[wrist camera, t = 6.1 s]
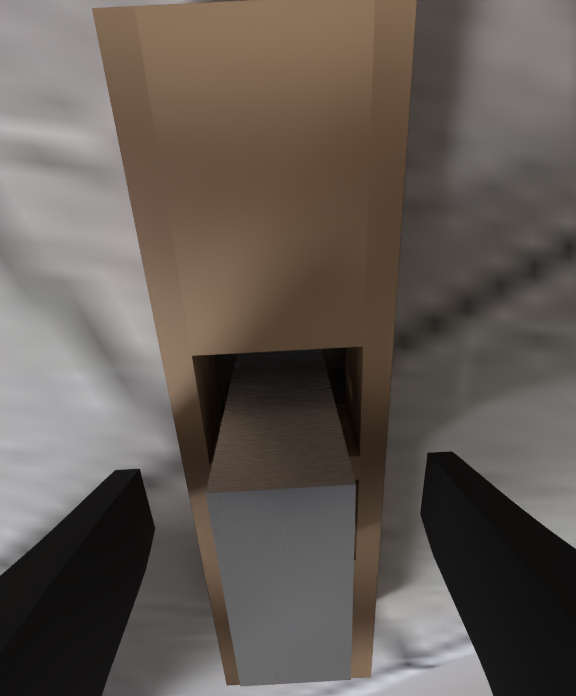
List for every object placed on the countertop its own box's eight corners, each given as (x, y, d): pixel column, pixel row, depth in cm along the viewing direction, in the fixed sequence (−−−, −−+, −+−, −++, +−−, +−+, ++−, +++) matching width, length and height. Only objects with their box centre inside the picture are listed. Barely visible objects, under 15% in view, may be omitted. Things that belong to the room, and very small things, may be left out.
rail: (358, 609, 17) (370, 677, 15) (233, 616, 17) (227, 685, 15) (380, 39, 9) (417, -9, 6) (140, 52, 9) (91, 8, 6)
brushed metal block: (321, 481, 14) (351, 679, 8) (254, 485, 14) (240, 685, 8) (318, 339, 12) (355, 484, 6) (239, 344, 12) (205, 493, 6)
